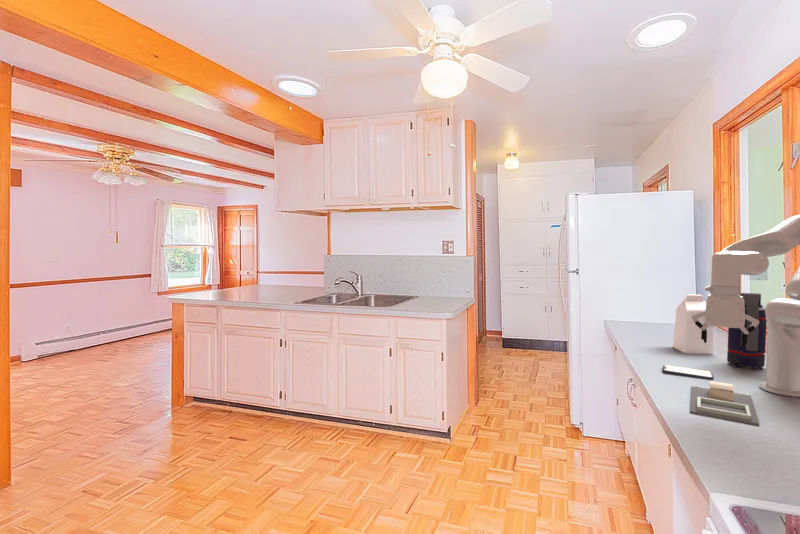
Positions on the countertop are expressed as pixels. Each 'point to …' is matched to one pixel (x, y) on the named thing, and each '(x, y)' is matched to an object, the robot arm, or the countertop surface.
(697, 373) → the smartphone
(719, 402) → the tray
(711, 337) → the milk
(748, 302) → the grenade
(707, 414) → the mat
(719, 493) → the countertop surface
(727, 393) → the block
